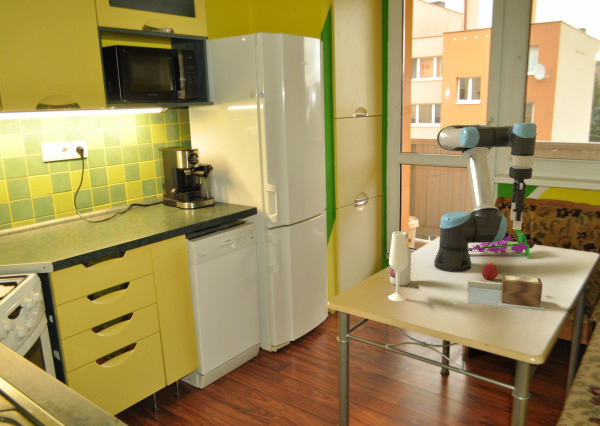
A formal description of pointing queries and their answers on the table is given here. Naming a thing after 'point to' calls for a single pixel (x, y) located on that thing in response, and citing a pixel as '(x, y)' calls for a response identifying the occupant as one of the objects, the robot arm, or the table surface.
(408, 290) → the table surface
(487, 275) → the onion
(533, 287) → the frame
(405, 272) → the milk bottle
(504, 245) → the potted plant
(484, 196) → the robot arm
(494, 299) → the wall panel
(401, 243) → the champagne flute
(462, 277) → the table surface
